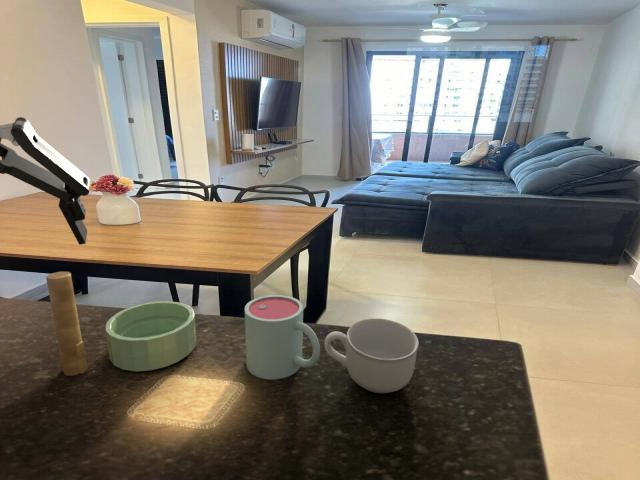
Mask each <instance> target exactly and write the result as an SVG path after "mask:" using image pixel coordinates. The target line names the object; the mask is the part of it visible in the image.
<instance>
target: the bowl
mask: <svg viewBox="0 0 640 480" xmlns="http://www.w3.org/2000/svg"><path fill="white" fill-rule="evenodd" d="M196 327H197V326H196V314H195V312H194V309H193V308H192V307H191V306H190V305H188V304H186V303H183V302H179V301H171V300H162V301H161V300H160V301H151V302H144V303H140V304H136V305H133V306H130V307H127V308H125V309H123V310H120V311H119V312H117V313H115V314H114V315H113V316H111V317H110V318H109V319H108V320H107V322H106V323H105V336H106V343H107V350H108V351H107V352H108V358H109V361H110V362H111V364H112V365H113V366H114V367H117V368H119V369H121V370H123V371H130V372H147V371H148V372H149V371H153V370H158V369H163V368H166V367H169V366H171V365H174V364H176V363H179V362H180V361H182V360H183V359H185V358H186V357H188V356H189V355H190V354H191V353H192V352H193V351H194V350H195V347H196V345H197V331H196V330H197V328H196Z"/></svg>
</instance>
